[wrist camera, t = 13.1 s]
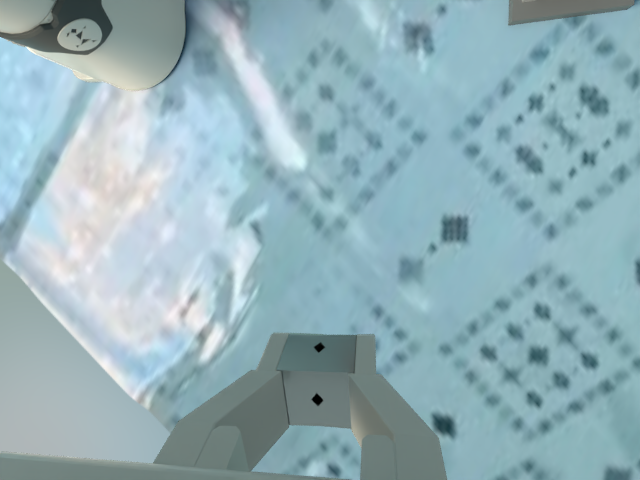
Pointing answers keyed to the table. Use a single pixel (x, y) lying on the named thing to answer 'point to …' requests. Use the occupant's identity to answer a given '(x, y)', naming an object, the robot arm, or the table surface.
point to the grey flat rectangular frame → (560, 9)
